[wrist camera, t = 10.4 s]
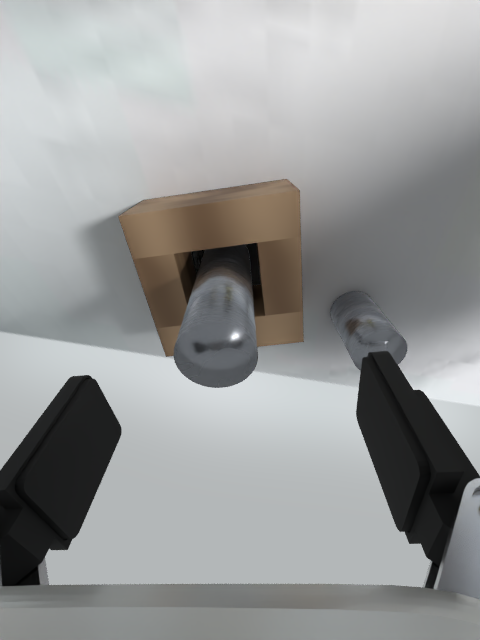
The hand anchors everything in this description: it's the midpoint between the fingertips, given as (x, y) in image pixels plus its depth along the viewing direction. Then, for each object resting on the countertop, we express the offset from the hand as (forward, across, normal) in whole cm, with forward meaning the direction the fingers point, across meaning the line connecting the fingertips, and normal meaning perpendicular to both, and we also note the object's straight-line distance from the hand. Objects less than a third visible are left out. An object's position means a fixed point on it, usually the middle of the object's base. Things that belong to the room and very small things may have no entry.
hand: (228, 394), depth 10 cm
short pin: (+15, -9, +6) cm, 18 cm away
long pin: (+14, +1, 0) cm, 14 cm away
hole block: (+14, +1, 0) cm, 14 cm away
